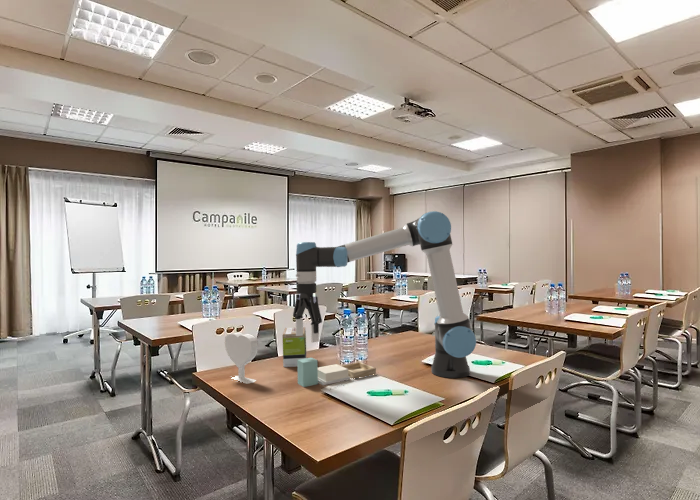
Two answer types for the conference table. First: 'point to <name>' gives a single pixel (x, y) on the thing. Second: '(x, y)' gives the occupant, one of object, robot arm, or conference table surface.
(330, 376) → the cream rectangular box
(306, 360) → the teal block
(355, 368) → the tray
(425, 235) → the robot arm
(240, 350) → the heart sculpture
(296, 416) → the conference table surface
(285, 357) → the tea box
